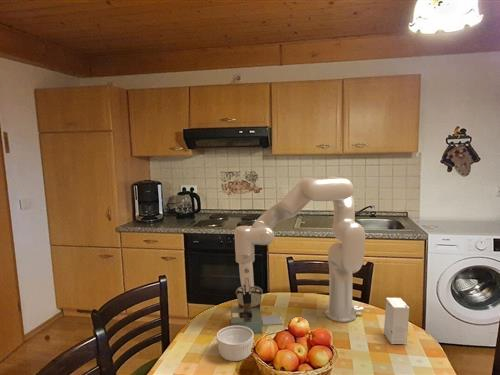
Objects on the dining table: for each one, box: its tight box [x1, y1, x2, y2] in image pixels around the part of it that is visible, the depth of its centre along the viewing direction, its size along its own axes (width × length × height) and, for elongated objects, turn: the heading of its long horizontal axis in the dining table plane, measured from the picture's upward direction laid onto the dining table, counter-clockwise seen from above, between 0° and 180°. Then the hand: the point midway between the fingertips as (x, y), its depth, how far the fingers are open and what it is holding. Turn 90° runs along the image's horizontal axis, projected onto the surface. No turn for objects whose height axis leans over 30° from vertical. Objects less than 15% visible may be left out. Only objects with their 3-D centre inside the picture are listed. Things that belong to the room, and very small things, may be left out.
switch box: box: [230, 308, 263, 335], centre depth 145 cm, size 12×12×5 cm
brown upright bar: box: [243, 285, 251, 314], centre depth 144 cm, size 3×3×13 cm
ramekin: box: [216, 325, 255, 362], centre depth 126 cm, size 13×13×7 cm
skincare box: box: [383, 297, 410, 345], centre depth 133 cm, size 8×6×15 cm
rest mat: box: [261, 314, 283, 327], centre depth 150 cm, size 8×8×1 cm
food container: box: [235, 285, 264, 311], centre depth 161 cm, size 12×6×10 cm, turn 84°
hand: (247, 301), depth 144 cm, fingers closed on brown upright bar, 3 cm apart
